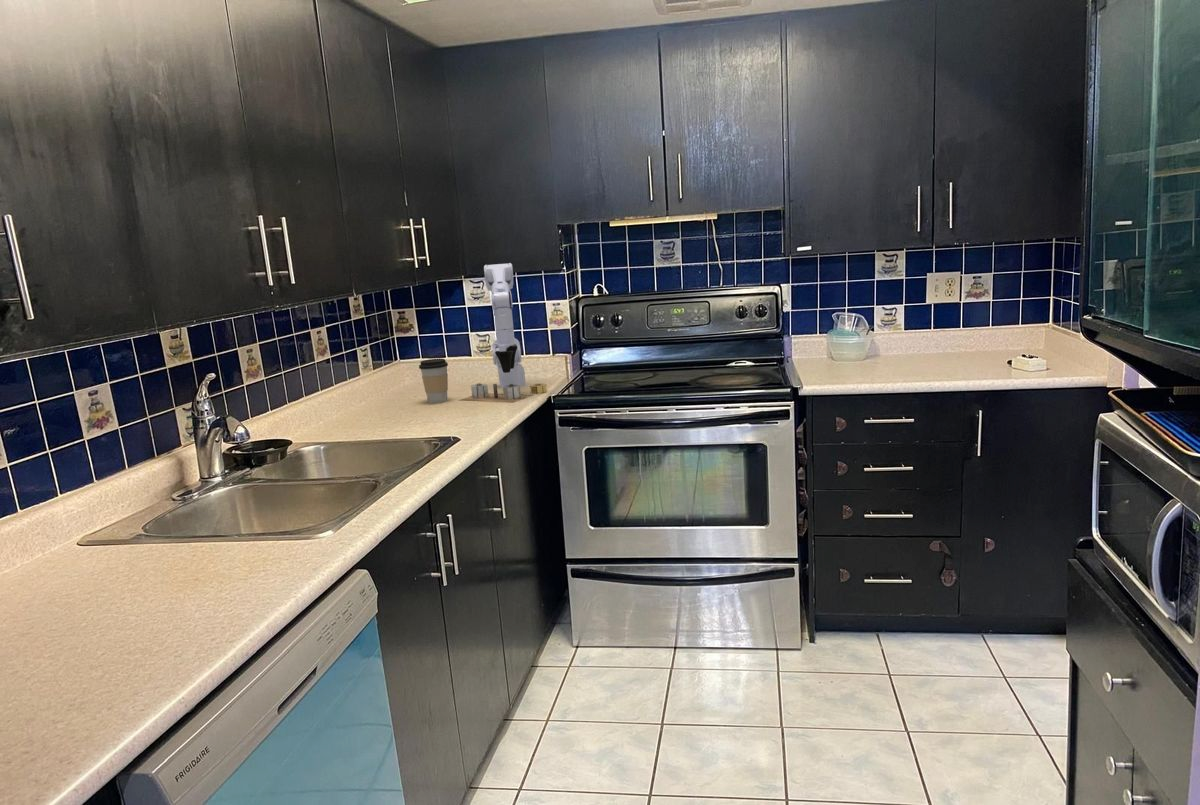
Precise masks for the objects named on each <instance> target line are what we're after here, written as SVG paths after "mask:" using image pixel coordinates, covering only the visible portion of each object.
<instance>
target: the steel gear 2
mask: <svg viewBox="0 0 1200 805" xmlns="http://www.w3.org/2000/svg"><path fill="white" fill-rule="evenodd" d="M502 390H503V393H502V394H504V399H505V400H514V399H519V398H521V394H522V393H521V386H520V385H517V384H514V385H513V387H510V386H509V385H506V386H503V388H502Z"/></svg>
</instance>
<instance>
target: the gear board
mask: <svg viewBox="0 0 1200 805" xmlns="http://www.w3.org/2000/svg"><path fill="white" fill-rule="evenodd" d="M476 384H477V386H481V384H482V383H481V382H478V383H476ZM509 386H510V387H513V384H510V385H509ZM492 387H493V388H492V389H493V393H489V392H488V396H489V397H486V398H480V399H479V398H478V399H473V398H472V395H471V396H468V397H464V398H461V399H458V401H461V402H463V401H464V402H484V403H485V402H489V403H513V404H514V403H517V402H519V401H521V400H525V399H527V398H530V397H533V396H534V394H522V393H521V398H519V399H514V400H505V399H504V393H499V392H498V384H497V383H492Z"/></svg>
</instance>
